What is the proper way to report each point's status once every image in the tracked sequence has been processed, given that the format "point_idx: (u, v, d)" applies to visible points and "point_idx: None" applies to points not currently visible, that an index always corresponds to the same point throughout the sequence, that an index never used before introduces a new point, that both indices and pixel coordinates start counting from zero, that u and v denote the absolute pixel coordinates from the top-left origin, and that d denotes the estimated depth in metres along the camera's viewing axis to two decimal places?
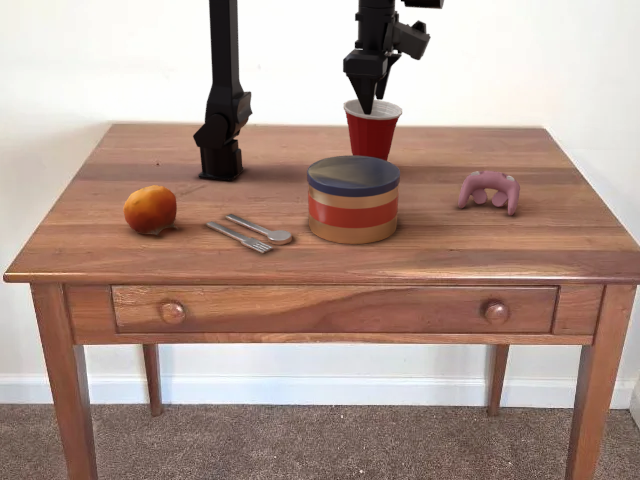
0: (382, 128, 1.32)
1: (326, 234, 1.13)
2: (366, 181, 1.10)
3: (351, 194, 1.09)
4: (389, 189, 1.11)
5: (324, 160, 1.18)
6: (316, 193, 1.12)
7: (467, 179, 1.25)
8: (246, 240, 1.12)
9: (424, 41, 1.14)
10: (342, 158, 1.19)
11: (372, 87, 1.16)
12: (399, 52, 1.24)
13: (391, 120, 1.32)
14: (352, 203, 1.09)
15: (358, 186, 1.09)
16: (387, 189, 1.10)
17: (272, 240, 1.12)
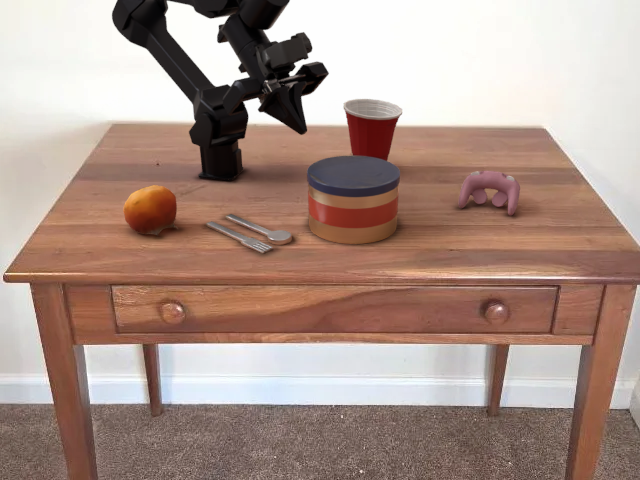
0: (382, 128, 1.32)
1: (326, 234, 1.13)
2: (366, 181, 1.10)
3: (351, 194, 1.09)
4: (389, 189, 1.11)
5: (324, 160, 1.18)
6: (316, 193, 1.12)
7: (467, 179, 1.25)
8: (246, 240, 1.12)
9: (281, 42, 1.10)
10: (342, 158, 1.19)
11: (283, 106, 1.16)
12: (314, 74, 1.20)
13: (391, 120, 1.32)
14: (352, 203, 1.09)
15: (358, 186, 1.09)
16: (387, 189, 1.10)
17: (272, 240, 1.12)
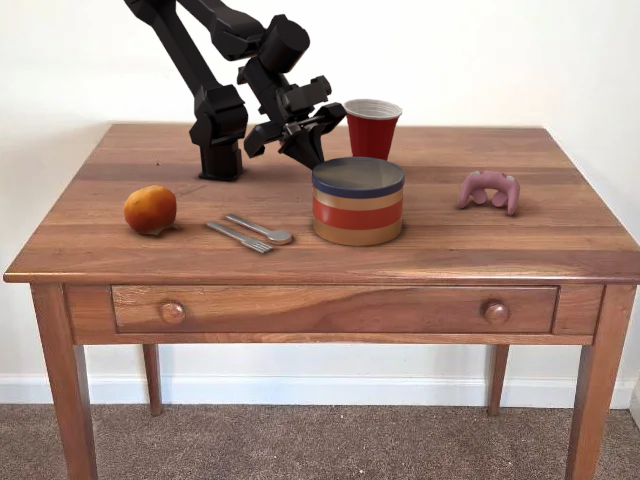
0: (382, 128, 1.32)
1: (331, 236, 1.13)
2: (371, 182, 1.10)
3: (356, 196, 1.08)
4: (394, 191, 1.10)
5: (328, 162, 1.17)
6: (320, 195, 1.11)
7: (467, 179, 1.25)
8: (246, 240, 1.12)
9: (302, 86, 1.11)
10: (347, 159, 1.18)
11: (303, 148, 1.17)
12: (333, 116, 1.20)
13: (391, 120, 1.32)
14: (357, 205, 1.09)
15: (363, 188, 1.08)
16: (392, 191, 1.10)
17: (272, 240, 1.12)
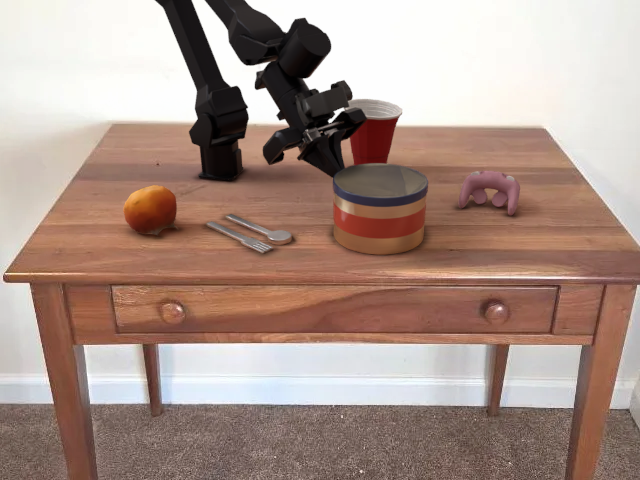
0: (382, 128, 1.32)
1: (353, 244, 1.10)
2: (394, 190, 1.08)
3: (380, 204, 1.06)
4: (418, 198, 1.08)
5: (348, 169, 1.15)
6: (343, 203, 1.09)
7: (467, 179, 1.25)
8: (246, 240, 1.12)
9: (323, 92, 1.09)
10: (367, 166, 1.16)
11: (323, 154, 1.14)
12: (353, 121, 1.18)
13: (391, 120, 1.32)
14: (381, 213, 1.07)
15: (387, 195, 1.06)
16: (416, 198, 1.08)
17: (272, 240, 1.12)
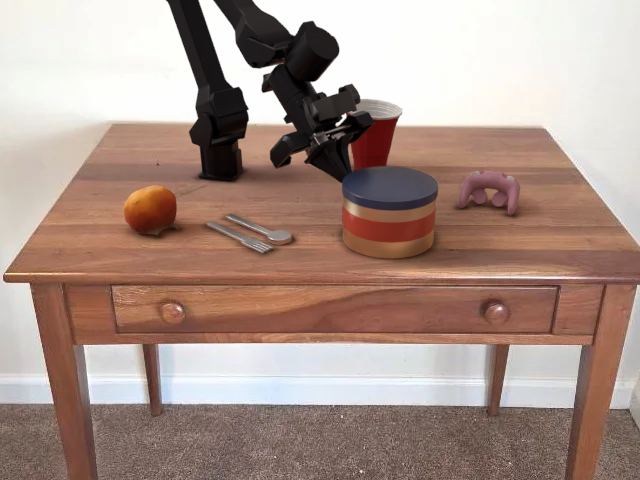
0: (382, 128, 1.32)
1: (363, 248, 1.09)
2: (405, 193, 1.07)
3: (390, 207, 1.05)
4: (428, 202, 1.07)
5: (357, 172, 1.14)
6: (352, 206, 1.08)
7: (467, 179, 1.25)
8: (246, 240, 1.12)
9: (331, 96, 1.08)
10: (376, 169, 1.15)
11: (330, 158, 1.14)
12: (361, 125, 1.17)
13: (391, 120, 1.32)
14: (391, 217, 1.06)
15: (397, 199, 1.05)
16: (426, 202, 1.06)
17: (272, 240, 1.12)
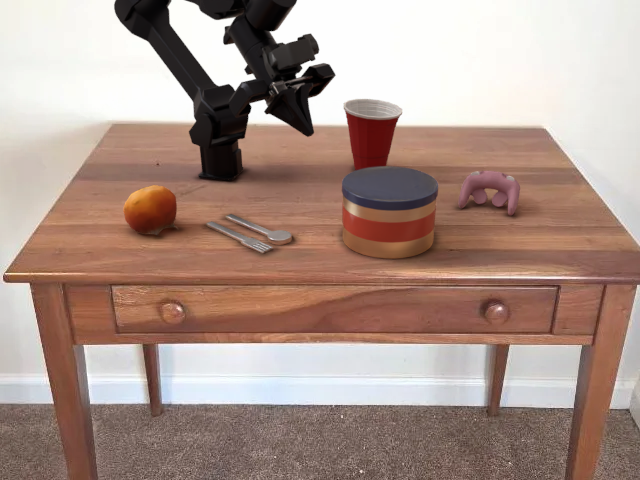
0: (382, 128, 1.32)
1: (363, 248, 1.09)
2: (405, 193, 1.07)
3: (390, 207, 1.05)
4: (428, 202, 1.07)
5: (357, 172, 1.14)
6: (352, 206, 1.08)
7: (467, 179, 1.25)
8: (246, 240, 1.12)
9: (288, 43, 1.10)
10: (376, 169, 1.15)
11: (290, 108, 1.15)
12: (321, 76, 1.19)
13: (391, 120, 1.32)
14: (391, 217, 1.06)
15: (397, 199, 1.05)
16: (426, 202, 1.06)
17: (272, 240, 1.12)
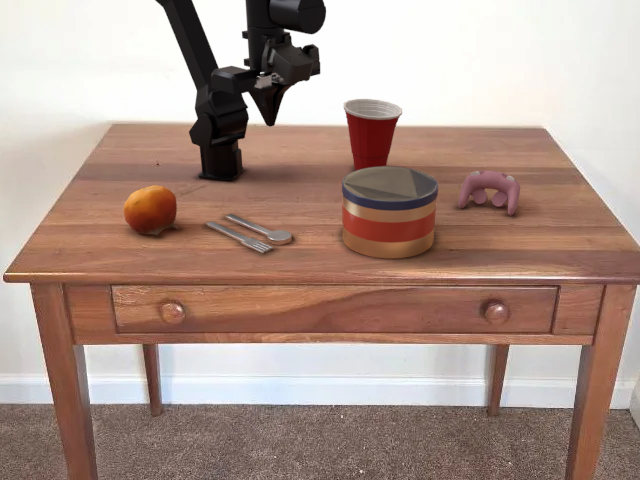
0: (382, 128, 1.32)
1: (363, 248, 1.09)
2: (405, 193, 1.07)
3: (390, 207, 1.05)
4: (428, 202, 1.07)
5: (357, 172, 1.14)
6: (352, 206, 1.08)
7: (467, 179, 1.25)
8: (246, 240, 1.12)
9: (293, 65, 1.11)
10: (376, 169, 1.15)
11: (264, 100, 1.18)
12: None
13: (391, 120, 1.32)
14: (391, 217, 1.06)
15: (397, 199, 1.05)
16: (426, 202, 1.06)
17: (272, 240, 1.12)
